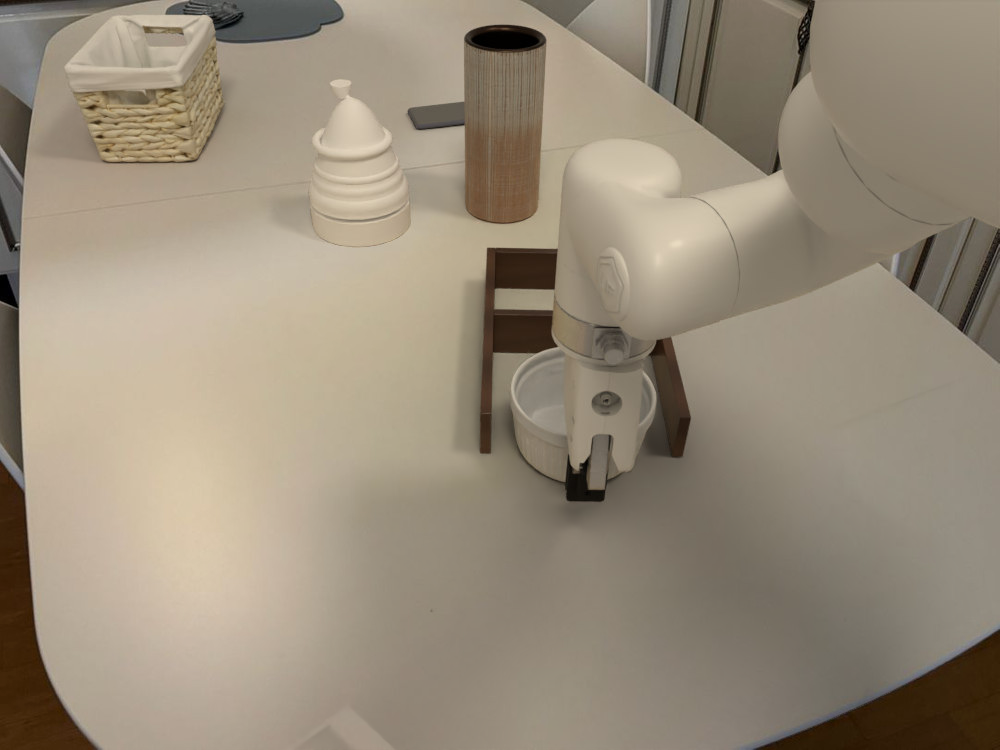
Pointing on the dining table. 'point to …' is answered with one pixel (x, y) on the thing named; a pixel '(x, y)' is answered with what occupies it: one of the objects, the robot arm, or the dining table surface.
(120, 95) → the basket
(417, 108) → the smartphone
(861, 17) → the robot arm
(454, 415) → the dining table surface
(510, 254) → the frame
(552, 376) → the ramekin
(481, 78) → the planter
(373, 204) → the honey pot
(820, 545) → the dining table surface
